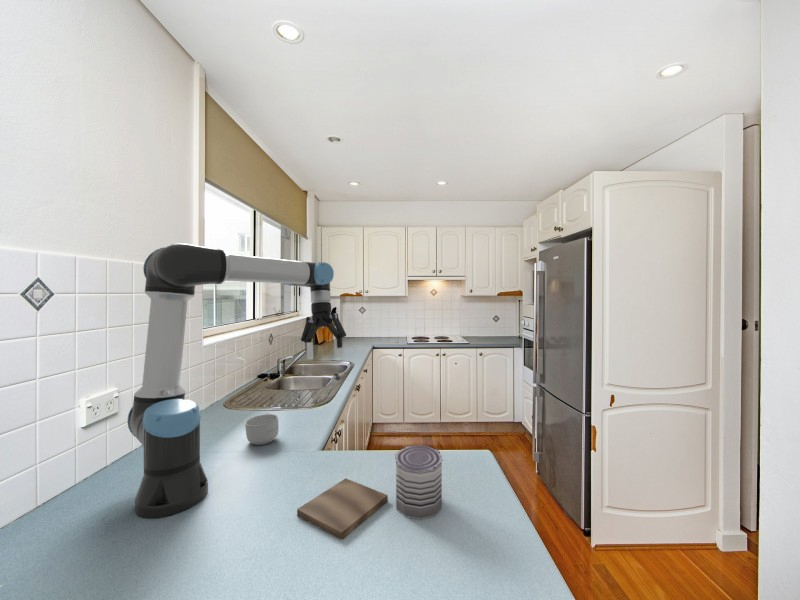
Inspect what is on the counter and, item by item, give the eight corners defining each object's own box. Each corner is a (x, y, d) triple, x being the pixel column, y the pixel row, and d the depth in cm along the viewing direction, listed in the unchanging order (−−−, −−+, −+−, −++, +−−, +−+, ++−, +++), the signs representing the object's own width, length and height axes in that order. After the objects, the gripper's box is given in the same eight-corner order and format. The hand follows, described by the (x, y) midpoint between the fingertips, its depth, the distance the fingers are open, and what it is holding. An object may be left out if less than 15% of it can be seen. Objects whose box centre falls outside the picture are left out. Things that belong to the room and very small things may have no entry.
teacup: (271, 448, 112) (271, 424, 112) (239, 448, 113) (238, 424, 113) (286, 432, 126) (286, 410, 126) (257, 431, 127) (257, 410, 127)
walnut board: (341, 539, 70) (341, 532, 70) (297, 515, 77) (297, 509, 77) (387, 501, 83) (387, 495, 83) (345, 483, 91) (345, 478, 91)
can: (450, 501, 83) (450, 452, 83) (427, 527, 73) (427, 471, 73) (411, 486, 89) (411, 441, 89) (385, 508, 80) (385, 458, 80)
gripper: (353, 299, 129) (356, 355, 126) (303, 307, 140) (306, 359, 137) (340, 297, 122) (344, 356, 119) (290, 306, 133) (292, 360, 130)
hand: (324, 358), depth 128 cm, fingers open, 13 cm apart
